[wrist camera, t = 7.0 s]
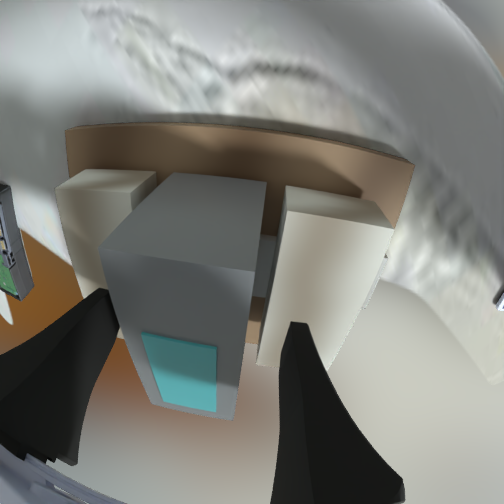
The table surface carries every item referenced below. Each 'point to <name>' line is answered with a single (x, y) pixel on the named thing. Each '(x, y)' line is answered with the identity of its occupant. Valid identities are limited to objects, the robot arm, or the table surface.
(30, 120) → the table surface
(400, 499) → the robot arm
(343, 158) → the rail board
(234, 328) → the block
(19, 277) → the disk drive
